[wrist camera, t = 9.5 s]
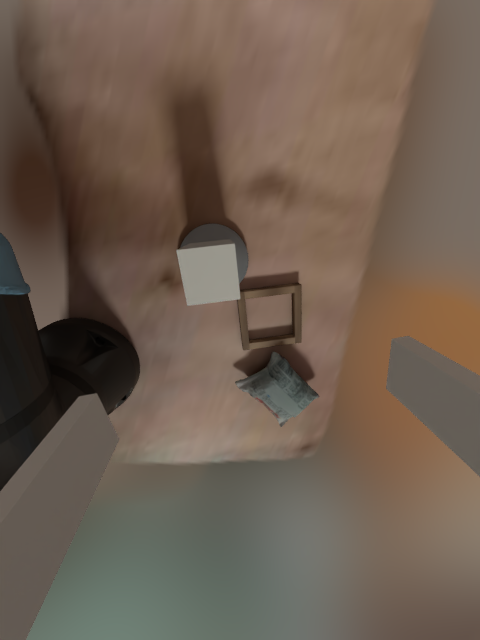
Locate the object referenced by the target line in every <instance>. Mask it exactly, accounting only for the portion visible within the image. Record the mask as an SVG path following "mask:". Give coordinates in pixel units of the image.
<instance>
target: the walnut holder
mask: <svg viewBox="0 0 480 640" xmlns="http://www.w3.org/2000/svg"><path fill="white" fill-rule="evenodd" d="M289 293H292V328H293V334H290V335H282V336H275V337H267V338H260V339H252V340H249V336H248V326H247V315H246V305H245V299H249V298H257V297H265V296H273V295H281V294H289ZM237 301H238V310H239V319H240V328H241V337H242V346H243V350H249V349H257V348H264V347H271V346H279V345H286V344H294V343H301V284H299V283H295V284H287V285H279V286H271V287H263V288H254V289H246V290H240V299H238V300H237Z"/></svg>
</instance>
